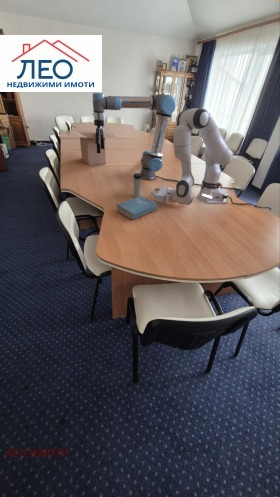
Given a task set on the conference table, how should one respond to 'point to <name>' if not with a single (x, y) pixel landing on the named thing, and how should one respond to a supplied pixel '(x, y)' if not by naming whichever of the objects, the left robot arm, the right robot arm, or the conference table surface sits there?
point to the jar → (137, 187)
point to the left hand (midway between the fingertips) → (100, 151)
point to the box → (91, 147)
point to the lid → (137, 176)
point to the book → (136, 207)
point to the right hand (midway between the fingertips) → (152, 191)
